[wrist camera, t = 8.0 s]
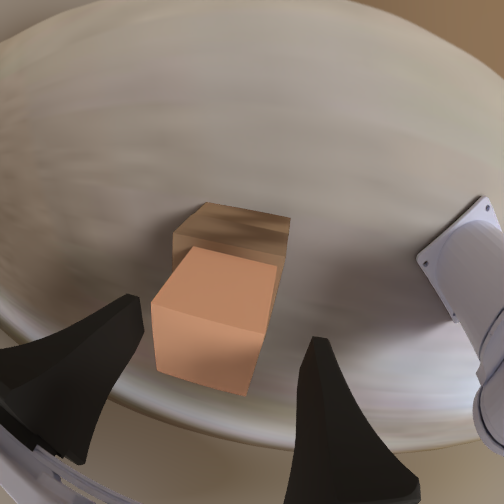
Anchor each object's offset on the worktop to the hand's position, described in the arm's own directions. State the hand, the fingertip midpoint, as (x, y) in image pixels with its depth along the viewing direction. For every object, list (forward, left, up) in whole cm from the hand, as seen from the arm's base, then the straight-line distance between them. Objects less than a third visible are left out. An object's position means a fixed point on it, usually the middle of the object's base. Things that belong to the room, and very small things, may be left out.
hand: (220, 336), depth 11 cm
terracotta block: (0, +1, -5) cm, 5 cm away
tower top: (0, +2, -8) cm, 8 cm away
